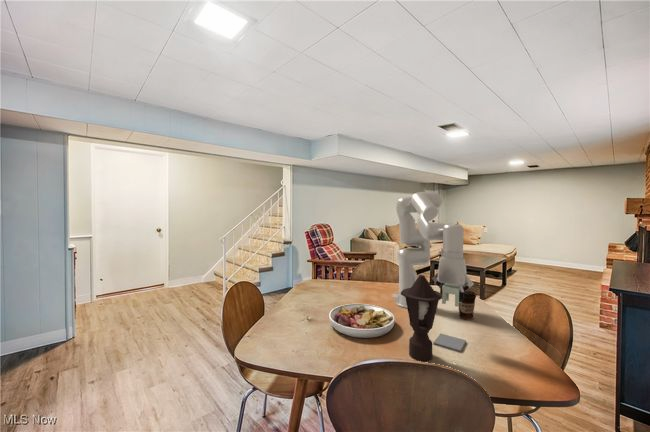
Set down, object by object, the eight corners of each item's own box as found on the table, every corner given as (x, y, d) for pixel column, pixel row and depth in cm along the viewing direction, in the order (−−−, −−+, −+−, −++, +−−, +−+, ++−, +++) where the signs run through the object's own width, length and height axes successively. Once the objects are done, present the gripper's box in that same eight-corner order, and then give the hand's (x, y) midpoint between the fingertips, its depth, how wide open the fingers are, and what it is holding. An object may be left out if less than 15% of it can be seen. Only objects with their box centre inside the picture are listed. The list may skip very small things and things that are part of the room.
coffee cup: (478, 322, 133) (479, 295, 132) (459, 320, 135) (460, 294, 134) (472, 315, 141) (473, 289, 141) (455, 313, 143) (455, 288, 143)
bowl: (356, 308, 151) (356, 294, 151) (406, 325, 130) (407, 309, 129) (315, 325, 130) (315, 308, 130) (367, 349, 109) (367, 329, 108)
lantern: (450, 366, 97) (451, 280, 95) (408, 368, 96) (409, 281, 94) (430, 344, 112) (431, 270, 110) (394, 346, 110) (395, 271, 109)
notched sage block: (442, 303, 112) (442, 286, 112) (445, 299, 117) (446, 282, 116) (458, 306, 108) (458, 288, 108) (461, 302, 113) (461, 285, 113)
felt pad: (433, 344, 112) (433, 342, 112) (440, 335, 120) (440, 333, 120) (460, 352, 106) (460, 350, 106) (466, 342, 114) (466, 340, 114)
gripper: (427, 254, 114) (427, 297, 115) (475, 259, 104) (474, 306, 104) (433, 251, 120) (432, 293, 121) (478, 256, 110) (477, 301, 110)
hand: (451, 299), depth 112 cm, fingers closed on notched sage block, 6 cm apart
